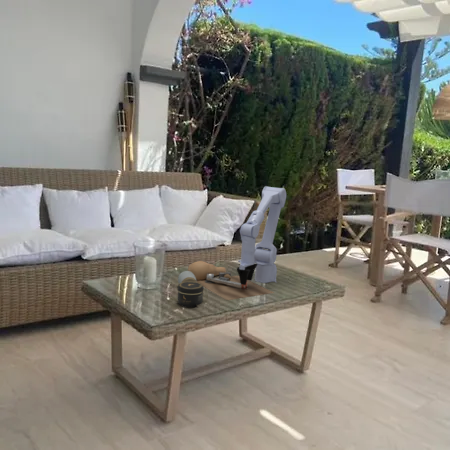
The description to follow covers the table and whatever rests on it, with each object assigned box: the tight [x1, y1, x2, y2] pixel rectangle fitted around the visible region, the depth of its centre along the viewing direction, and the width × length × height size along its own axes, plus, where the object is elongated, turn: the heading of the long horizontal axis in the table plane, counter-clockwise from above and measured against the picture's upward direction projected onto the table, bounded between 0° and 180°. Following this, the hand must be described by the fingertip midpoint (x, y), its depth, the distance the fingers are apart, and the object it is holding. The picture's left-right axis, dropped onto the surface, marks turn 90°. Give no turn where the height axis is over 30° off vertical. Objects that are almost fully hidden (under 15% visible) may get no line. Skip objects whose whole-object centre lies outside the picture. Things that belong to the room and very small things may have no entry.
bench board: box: [197, 271, 275, 301], centre depth 213 cm, size 24×28×4 cm
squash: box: [187, 260, 227, 281], centre depth 227 cm, size 11×20×9 cm, turn 133°
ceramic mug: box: [177, 270, 205, 290], centre depth 208 cm, size 11×8×8 cm
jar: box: [177, 282, 204, 308], centre depth 192 cm, size 10×10×8 cm
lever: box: [205, 273, 247, 289], centre depth 215 cm, size 20×5×3 cm, turn 61°
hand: (246, 282), depth 212 cm, fingers open, 7 cm apart
